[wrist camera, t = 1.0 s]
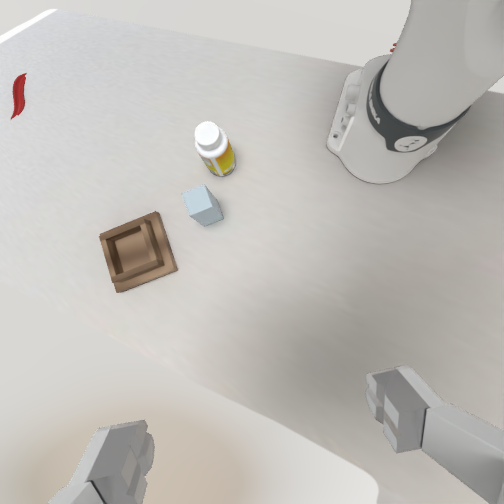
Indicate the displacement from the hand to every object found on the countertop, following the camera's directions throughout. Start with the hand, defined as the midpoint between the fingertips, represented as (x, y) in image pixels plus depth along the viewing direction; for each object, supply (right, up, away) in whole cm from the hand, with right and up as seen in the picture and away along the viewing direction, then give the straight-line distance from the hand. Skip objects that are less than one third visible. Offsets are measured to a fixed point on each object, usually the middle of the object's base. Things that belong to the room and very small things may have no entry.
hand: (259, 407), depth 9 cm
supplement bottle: (-6, +23, +39) cm, 45 cm away
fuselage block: (-8, +13, +38) cm, 41 cm away
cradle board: (-22, +6, +38) cm, 45 cm away
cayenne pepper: (-52, +41, +46) cm, 81 cm away
